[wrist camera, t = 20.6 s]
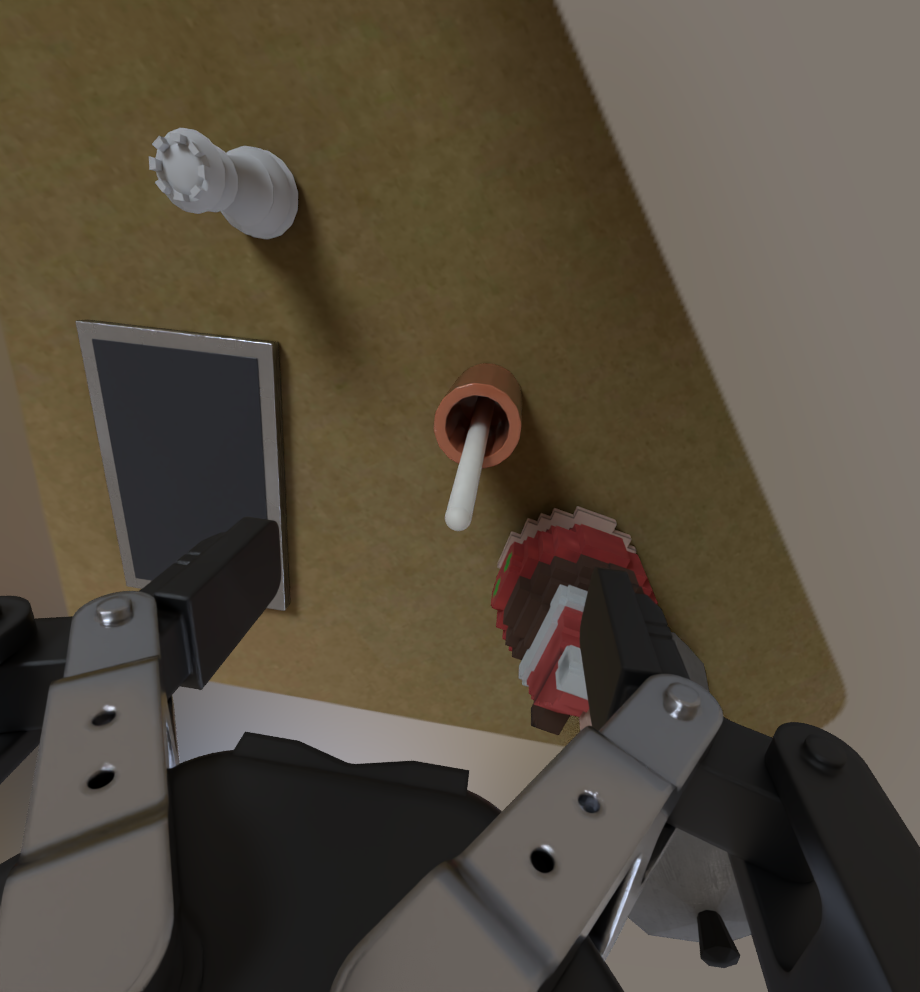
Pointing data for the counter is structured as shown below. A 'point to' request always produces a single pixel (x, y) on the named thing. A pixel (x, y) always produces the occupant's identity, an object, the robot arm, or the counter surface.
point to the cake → (557, 604)
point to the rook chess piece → (226, 182)
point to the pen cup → (460, 408)
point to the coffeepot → (694, 883)
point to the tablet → (185, 439)
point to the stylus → (470, 467)
